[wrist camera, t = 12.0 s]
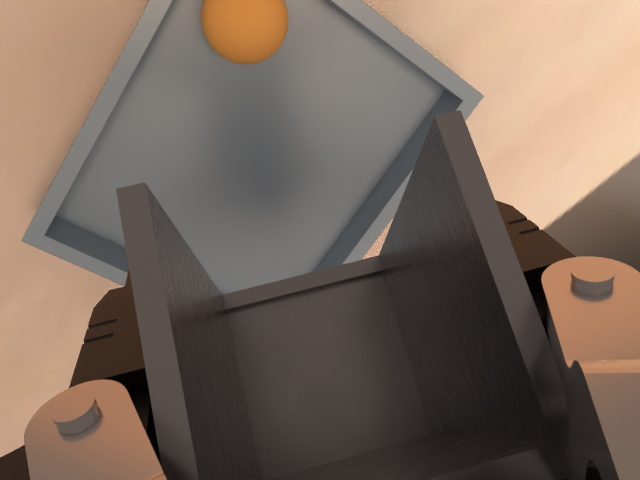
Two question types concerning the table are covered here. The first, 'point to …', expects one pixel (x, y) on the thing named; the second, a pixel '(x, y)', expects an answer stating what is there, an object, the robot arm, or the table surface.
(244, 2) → the ball
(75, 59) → the table surface
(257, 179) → the tray
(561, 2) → the table surface
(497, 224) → the open box
